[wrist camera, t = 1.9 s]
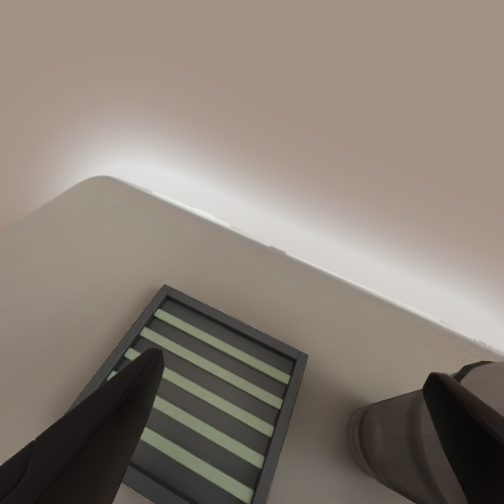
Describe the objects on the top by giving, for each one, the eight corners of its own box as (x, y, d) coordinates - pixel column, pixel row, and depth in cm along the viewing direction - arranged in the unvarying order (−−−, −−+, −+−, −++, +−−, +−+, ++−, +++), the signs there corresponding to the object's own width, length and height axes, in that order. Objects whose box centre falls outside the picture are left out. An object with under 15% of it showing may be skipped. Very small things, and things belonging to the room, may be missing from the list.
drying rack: (302, 359, 21) (308, 355, 20) (245, 551, 15) (248, 563, 13) (167, 291, 23) (164, 283, 22) (61, 433, 17) (47, 435, 15)
